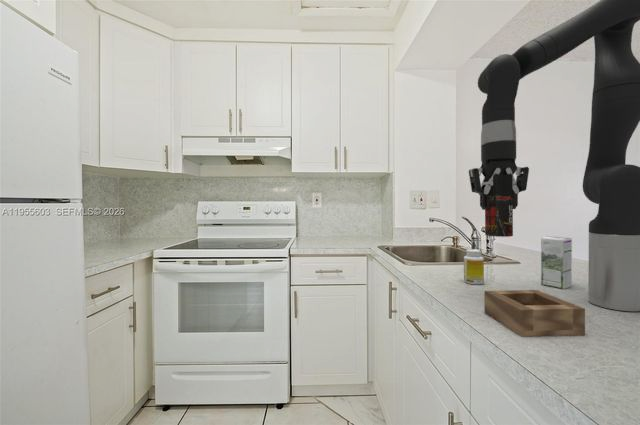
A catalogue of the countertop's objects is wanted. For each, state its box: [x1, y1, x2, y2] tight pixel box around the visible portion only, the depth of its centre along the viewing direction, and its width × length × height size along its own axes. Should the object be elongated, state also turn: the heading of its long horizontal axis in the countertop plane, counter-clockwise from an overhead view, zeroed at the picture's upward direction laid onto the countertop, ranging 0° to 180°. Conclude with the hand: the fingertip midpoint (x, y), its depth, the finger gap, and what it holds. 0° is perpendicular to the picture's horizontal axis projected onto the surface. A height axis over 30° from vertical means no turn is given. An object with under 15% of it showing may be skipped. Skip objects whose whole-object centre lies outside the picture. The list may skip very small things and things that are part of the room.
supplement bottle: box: [463, 249, 485, 285], centre depth 91 cm, size 6×6×10 cm
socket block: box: [483, 289, 586, 337], centre depth 60 cm, size 12×12×5 cm
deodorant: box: [484, 174, 514, 238], centre depth 73 cm, size 6×6×15 cm
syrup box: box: [540, 235, 573, 290], centre depth 86 cm, size 6×6×14 cm
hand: (498, 209), depth 73 cm, fingers closed on deodorant, 6 cm apart
